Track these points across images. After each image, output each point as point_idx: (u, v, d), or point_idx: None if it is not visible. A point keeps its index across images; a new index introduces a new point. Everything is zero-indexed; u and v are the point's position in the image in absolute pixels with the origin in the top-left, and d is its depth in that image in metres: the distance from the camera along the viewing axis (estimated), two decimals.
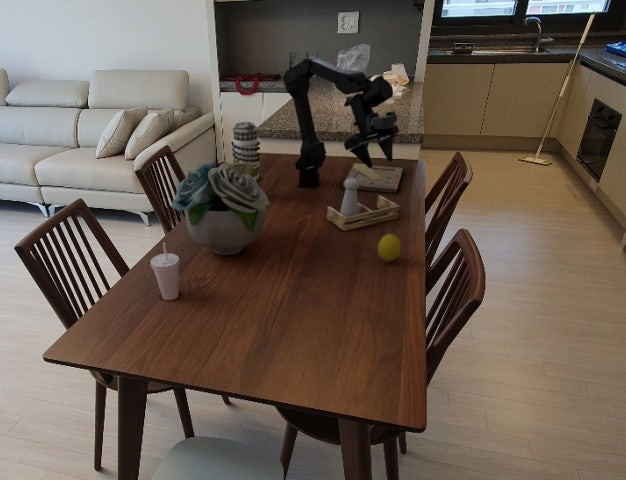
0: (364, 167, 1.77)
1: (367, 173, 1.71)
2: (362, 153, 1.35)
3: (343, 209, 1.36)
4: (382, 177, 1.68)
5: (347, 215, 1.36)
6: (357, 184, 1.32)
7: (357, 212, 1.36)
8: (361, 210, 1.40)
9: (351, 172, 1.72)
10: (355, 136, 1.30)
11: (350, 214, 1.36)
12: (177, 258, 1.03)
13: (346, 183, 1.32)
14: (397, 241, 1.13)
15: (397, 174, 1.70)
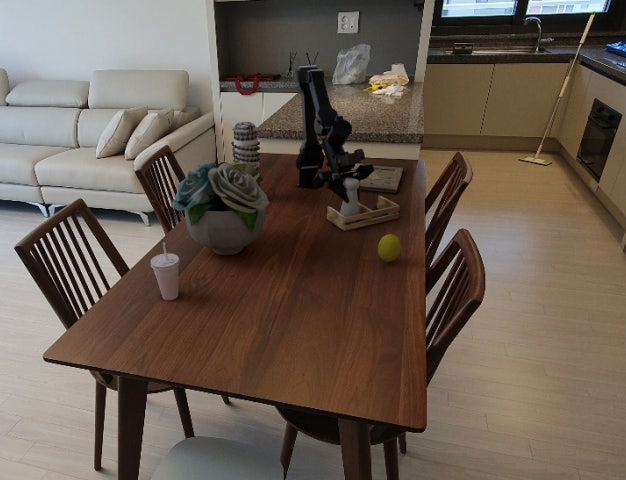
0: None
1: None
2: (338, 189, 1.35)
3: (343, 209, 1.36)
4: (382, 177, 1.68)
5: (347, 215, 1.36)
6: (357, 184, 1.32)
7: (357, 212, 1.36)
8: (361, 210, 1.40)
9: None
10: (319, 173, 1.31)
11: (350, 214, 1.36)
12: (177, 258, 1.03)
13: (346, 183, 1.32)
14: (397, 241, 1.13)
15: (397, 174, 1.70)
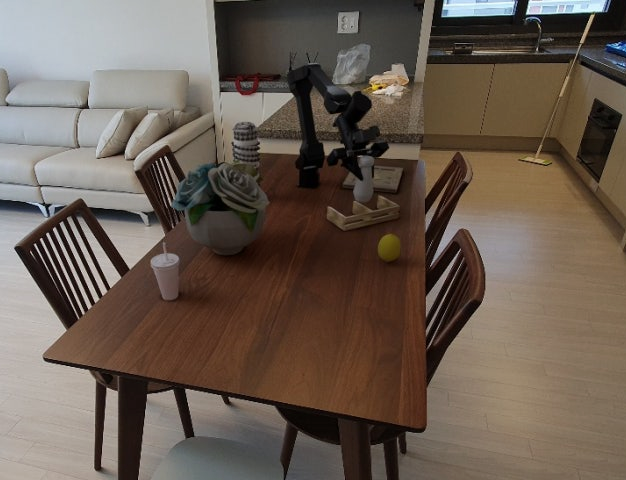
0: None
1: None
2: (353, 166, 1.33)
3: (357, 187, 1.35)
4: (382, 177, 1.68)
5: (361, 193, 1.35)
6: (372, 161, 1.30)
7: (371, 190, 1.35)
8: (361, 210, 1.40)
9: None
10: (333, 150, 1.30)
11: (364, 192, 1.34)
12: (177, 258, 1.03)
13: (361, 160, 1.31)
14: (397, 241, 1.13)
15: (397, 174, 1.70)
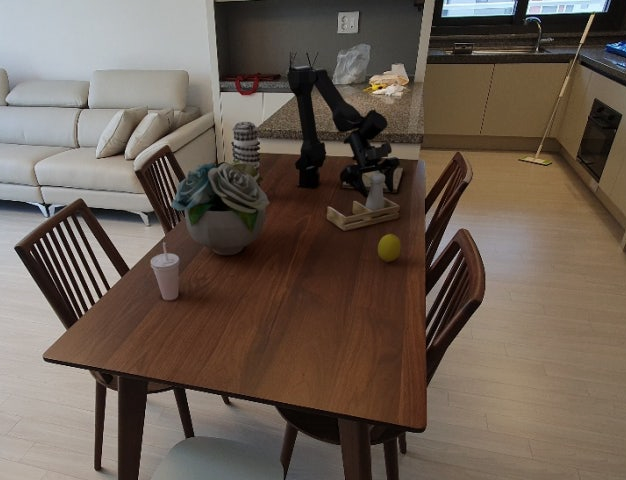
0: None
1: (367, 173, 1.71)
2: (358, 184, 1.37)
3: (369, 203, 1.40)
4: None
5: (373, 209, 1.39)
6: (383, 178, 1.35)
7: (382, 206, 1.40)
8: (361, 210, 1.40)
9: None
10: (347, 167, 1.34)
11: (376, 208, 1.39)
12: (177, 258, 1.03)
13: (372, 177, 1.36)
14: (397, 241, 1.13)
15: (397, 174, 1.70)
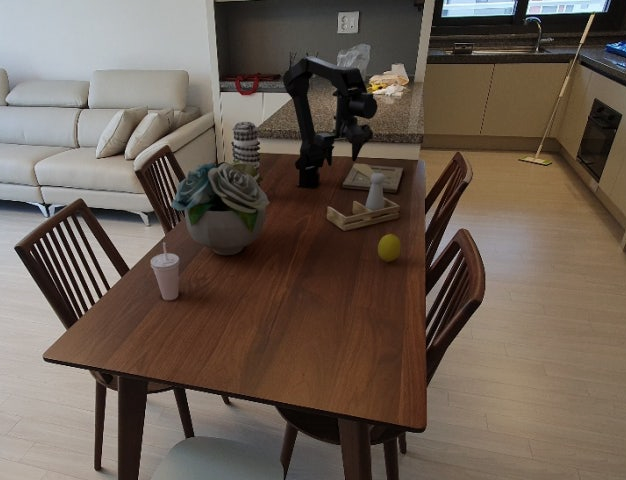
0: (364, 167, 1.77)
1: (367, 173, 1.71)
2: (327, 151, 1.44)
3: (369, 203, 1.40)
4: None
5: (373, 209, 1.39)
6: (383, 178, 1.35)
7: (382, 206, 1.40)
8: (361, 210, 1.40)
9: (351, 172, 1.72)
10: (323, 139, 1.39)
11: (376, 208, 1.39)
12: (177, 258, 1.03)
13: (372, 177, 1.36)
14: (397, 241, 1.13)
15: (397, 174, 1.70)
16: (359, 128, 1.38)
